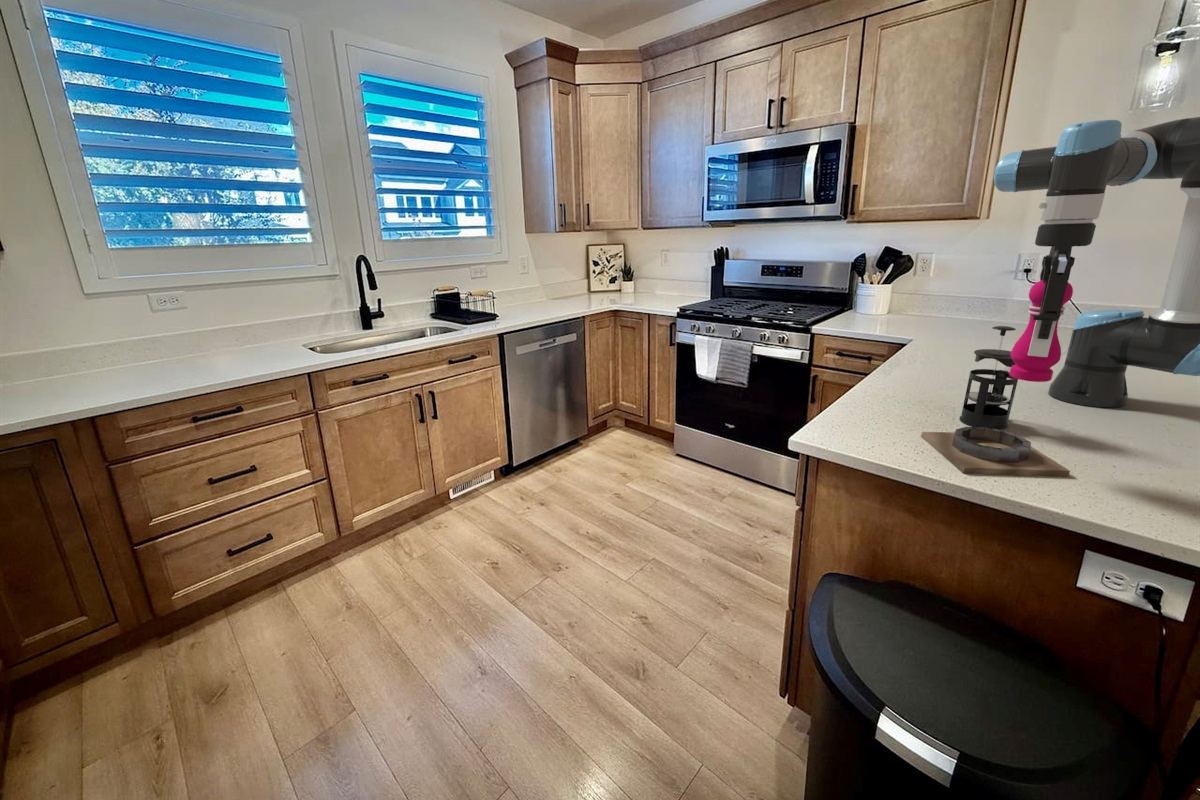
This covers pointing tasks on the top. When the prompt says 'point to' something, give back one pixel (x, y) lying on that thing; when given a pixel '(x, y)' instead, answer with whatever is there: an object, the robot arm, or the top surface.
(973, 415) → the french press
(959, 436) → the iron collar
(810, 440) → the top surface
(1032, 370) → the pepper mill
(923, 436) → the collar plate
